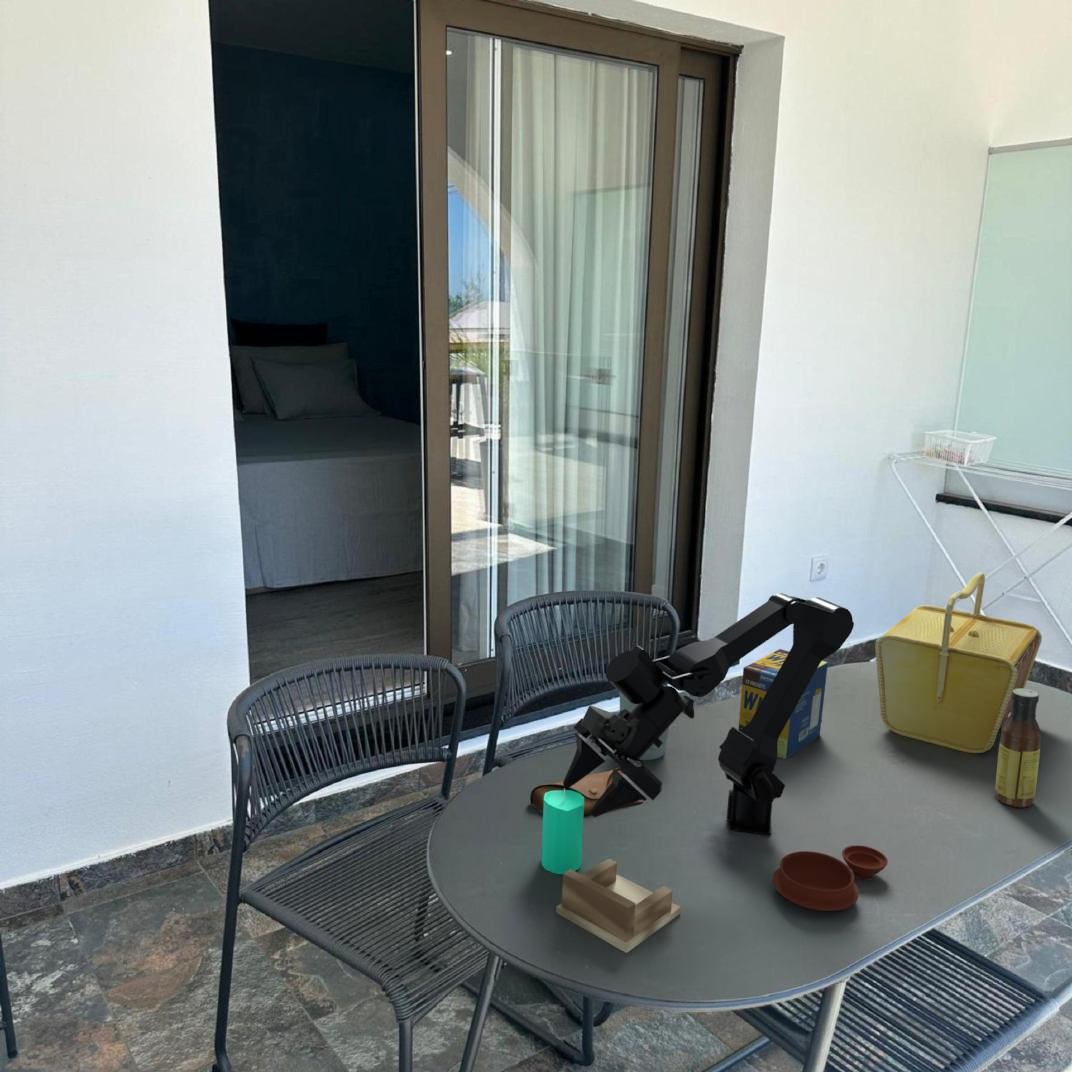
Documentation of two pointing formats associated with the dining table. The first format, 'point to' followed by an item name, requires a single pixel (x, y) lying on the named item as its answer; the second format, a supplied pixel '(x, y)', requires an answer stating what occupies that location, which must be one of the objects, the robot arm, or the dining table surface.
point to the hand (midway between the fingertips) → (578, 800)
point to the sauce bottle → (1019, 751)
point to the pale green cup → (655, 751)
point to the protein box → (805, 714)
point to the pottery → (826, 877)
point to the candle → (562, 831)
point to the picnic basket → (953, 672)
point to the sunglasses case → (579, 790)
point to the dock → (614, 906)
